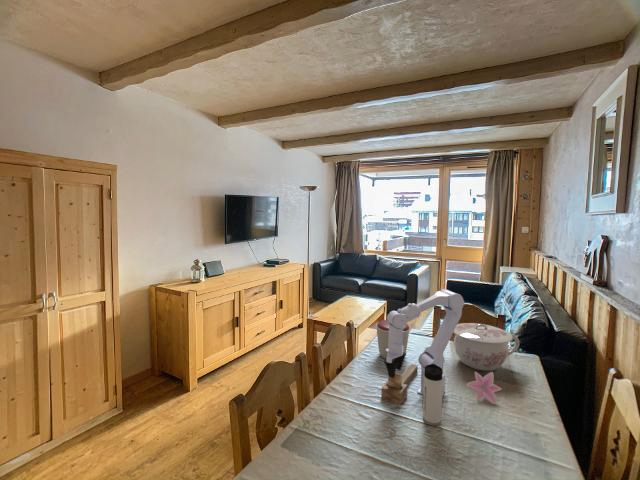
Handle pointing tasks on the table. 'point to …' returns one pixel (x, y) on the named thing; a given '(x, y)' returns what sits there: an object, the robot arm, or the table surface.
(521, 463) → the table surface
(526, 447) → the table surface
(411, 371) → the post
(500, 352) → the chamber pot
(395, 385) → the tan square peg
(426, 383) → the travel mug
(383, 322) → the canister
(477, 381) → the lily
